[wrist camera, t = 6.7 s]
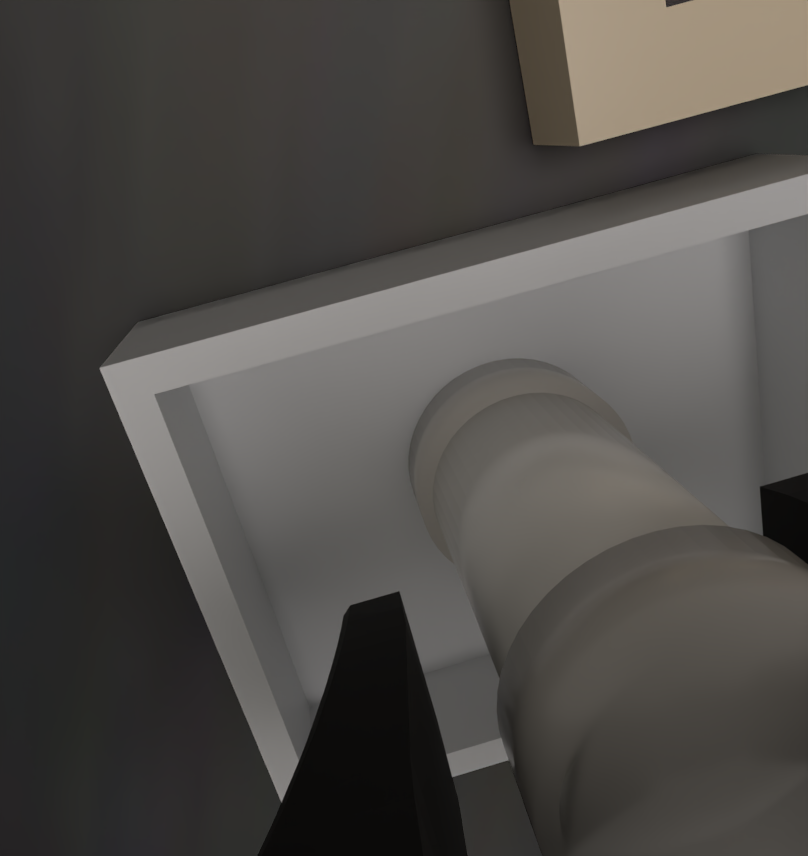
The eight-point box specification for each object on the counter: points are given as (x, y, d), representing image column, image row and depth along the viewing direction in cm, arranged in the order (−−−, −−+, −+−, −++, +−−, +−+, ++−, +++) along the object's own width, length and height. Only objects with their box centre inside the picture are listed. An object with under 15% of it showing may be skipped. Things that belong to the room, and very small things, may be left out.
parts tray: (756, 153, 12) (867, 157, 10) (781, 572, 15) (870, 650, 13) (137, 321, 12) (99, 367, 9) (291, 716, 15) (291, 825, 12)
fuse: (595, 336, 12) (943, 551, 6) (616, 521, 13) (920, 868, 7) (389, 386, 12) (505, 664, 6) (429, 568, 13) (562, 972, 7)
